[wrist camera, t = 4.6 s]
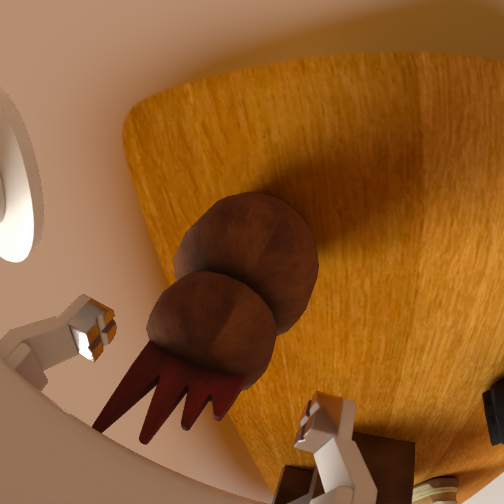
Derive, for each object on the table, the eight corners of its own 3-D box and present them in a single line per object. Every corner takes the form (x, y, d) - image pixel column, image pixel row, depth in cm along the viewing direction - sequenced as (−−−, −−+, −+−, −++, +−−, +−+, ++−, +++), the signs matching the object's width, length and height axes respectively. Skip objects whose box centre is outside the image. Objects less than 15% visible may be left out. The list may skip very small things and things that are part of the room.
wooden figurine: (204, 230, 21) (57, 417, 9) (243, 159, 18) (42, 357, 6) (289, 284, 21) (210, 503, 9) (340, 223, 18) (294, 496, 6)
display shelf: (282, 467, 40) (262, 532, 31) (327, 426, 30) (305, 523, 20) (350, 481, 39) (338, 544, 29) (415, 442, 29) (408, 531, 19)
